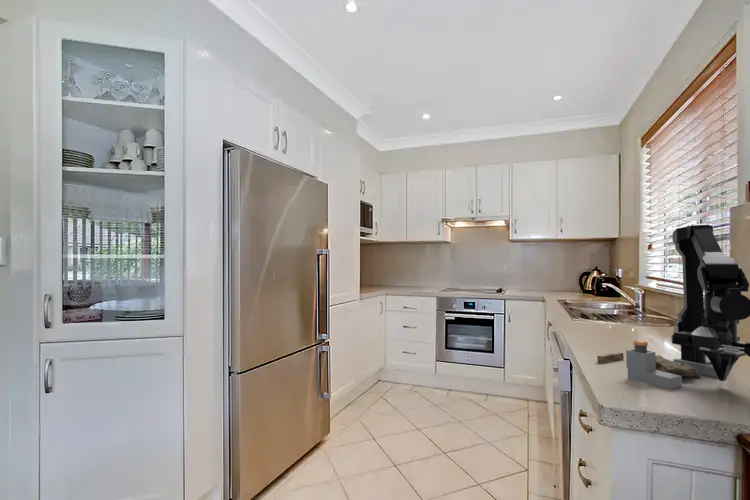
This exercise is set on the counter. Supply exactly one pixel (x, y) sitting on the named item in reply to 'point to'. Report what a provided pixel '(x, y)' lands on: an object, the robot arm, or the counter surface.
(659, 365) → the rock
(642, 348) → the plunger
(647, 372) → the bay
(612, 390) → the counter surface
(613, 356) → the bar
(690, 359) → the robot arm
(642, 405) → the counter surface
